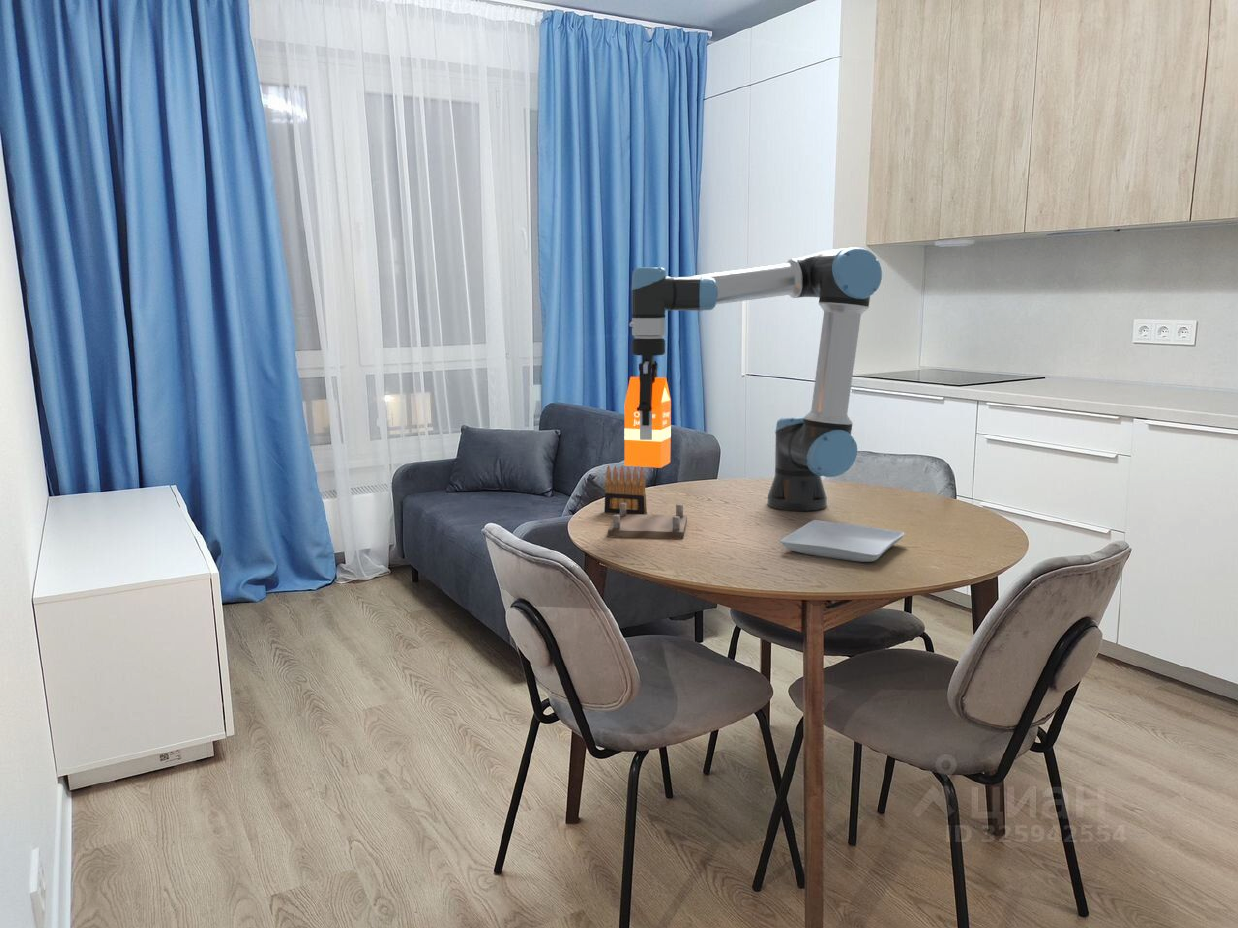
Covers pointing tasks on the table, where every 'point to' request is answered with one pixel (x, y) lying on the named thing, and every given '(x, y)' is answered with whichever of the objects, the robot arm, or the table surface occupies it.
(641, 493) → the ammunition clip
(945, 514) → the table surface
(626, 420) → the orange juice
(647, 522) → the peg stand
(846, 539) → the salad plate
